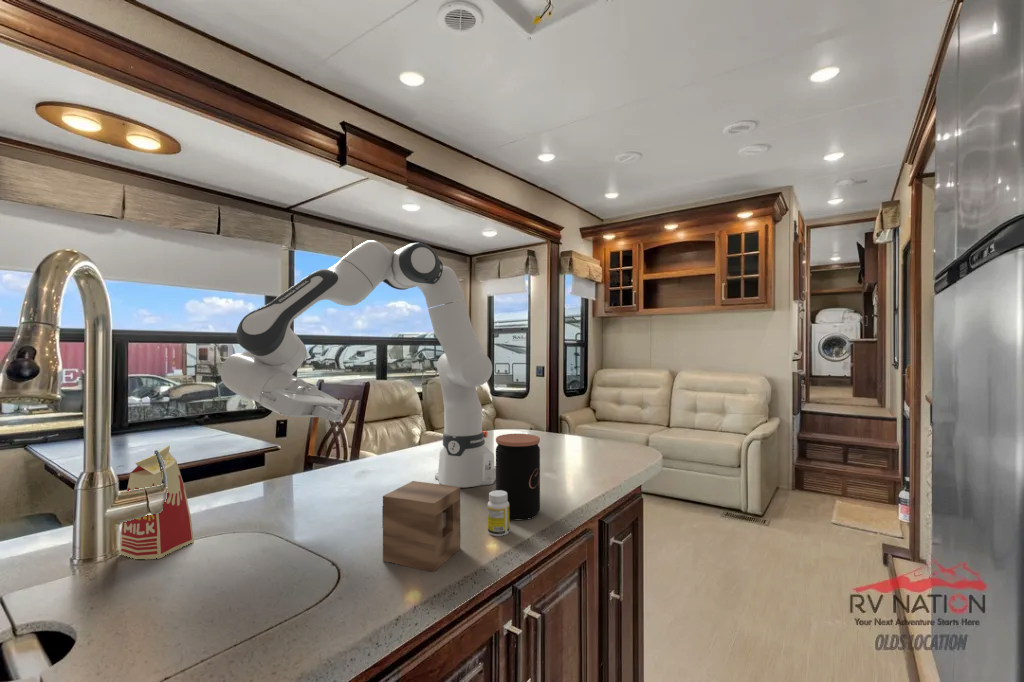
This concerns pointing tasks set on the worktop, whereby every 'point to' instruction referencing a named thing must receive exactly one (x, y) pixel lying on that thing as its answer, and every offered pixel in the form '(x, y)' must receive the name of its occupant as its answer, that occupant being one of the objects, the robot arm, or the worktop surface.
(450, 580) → the worktop surface
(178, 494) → the milk carton
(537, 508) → the coffee jar
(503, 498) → the supplement bottle
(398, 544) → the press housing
